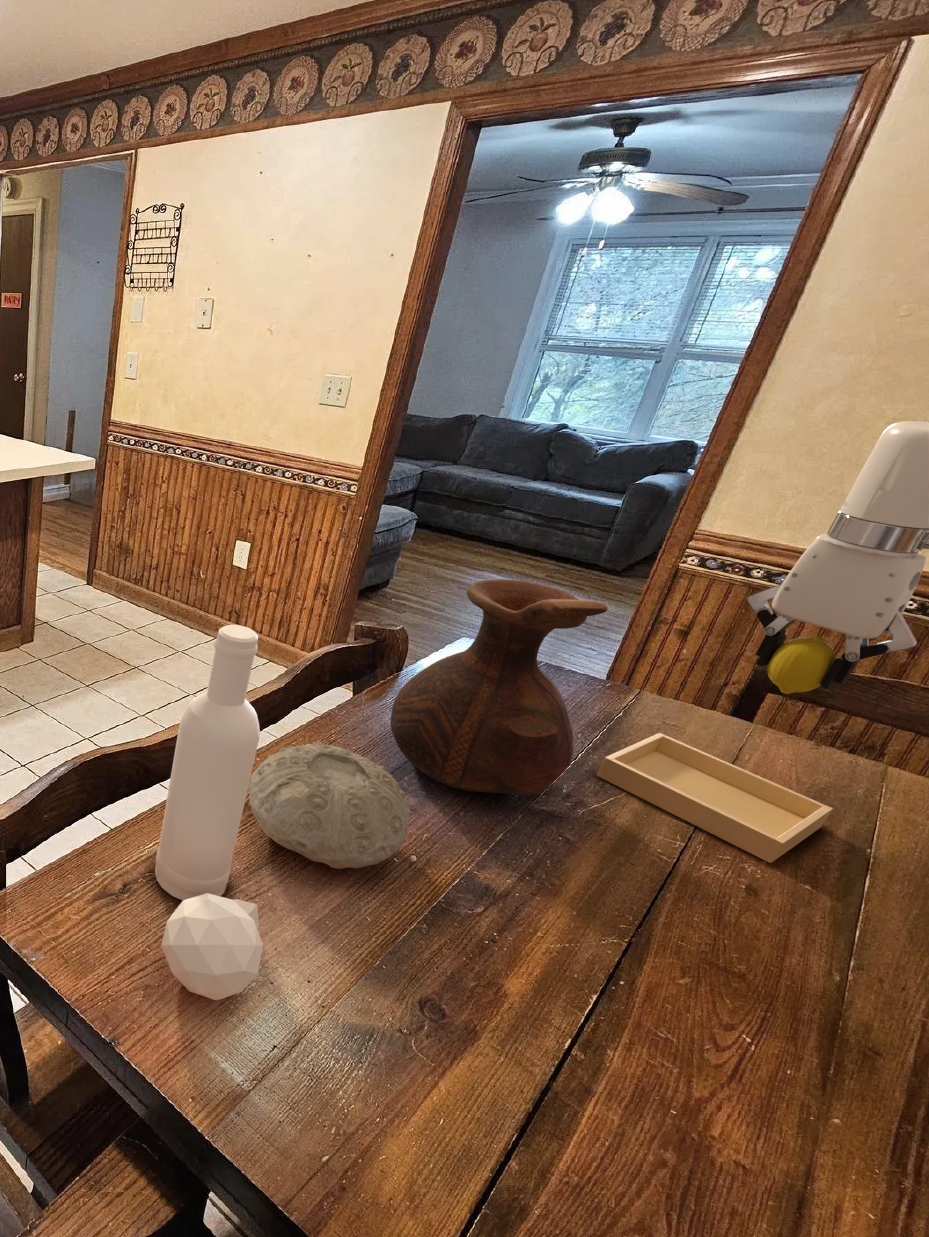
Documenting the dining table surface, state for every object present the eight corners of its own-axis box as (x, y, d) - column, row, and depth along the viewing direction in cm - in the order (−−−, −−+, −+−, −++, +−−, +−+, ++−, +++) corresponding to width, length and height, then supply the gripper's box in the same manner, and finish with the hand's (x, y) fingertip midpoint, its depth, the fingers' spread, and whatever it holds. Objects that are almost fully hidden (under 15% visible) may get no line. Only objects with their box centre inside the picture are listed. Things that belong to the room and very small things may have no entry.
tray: (820, 827, 97) (833, 808, 96) (770, 863, 90) (783, 843, 89) (650, 749, 112) (659, 732, 111) (596, 775, 105) (604, 757, 104)
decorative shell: (347, 913, 79) (371, 839, 74) (212, 823, 91) (226, 755, 86) (424, 846, 89) (449, 777, 85) (294, 774, 101) (310, 710, 97)
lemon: (772, 700, 92) (806, 642, 89) (745, 679, 97) (776, 624, 94) (825, 707, 91) (861, 649, 88) (795, 687, 96) (828, 630, 93)
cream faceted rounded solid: (236, 1036, 63) (292, 965, 72) (230, 935, 61) (288, 876, 70) (147, 1000, 69) (209, 939, 77) (140, 908, 67) (204, 857, 76)
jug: (350, 760, 105) (409, 559, 92) (416, 713, 118) (476, 531, 105) (519, 843, 91) (618, 618, 77) (572, 779, 104) (665, 577, 91)
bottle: (162, 845, 87) (203, 608, 74) (231, 865, 84) (285, 624, 71) (146, 891, 80) (188, 639, 67) (220, 914, 78) (279, 657, 64)
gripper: (996, 555, 80) (900, 700, 88) (793, 512, 93) (725, 641, 101) (975, 563, 77) (877, 713, 85) (767, 517, 90) (699, 651, 98)
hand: (795, 673), depth 93 cm, fingers closed on lemon, 5 cm apart
